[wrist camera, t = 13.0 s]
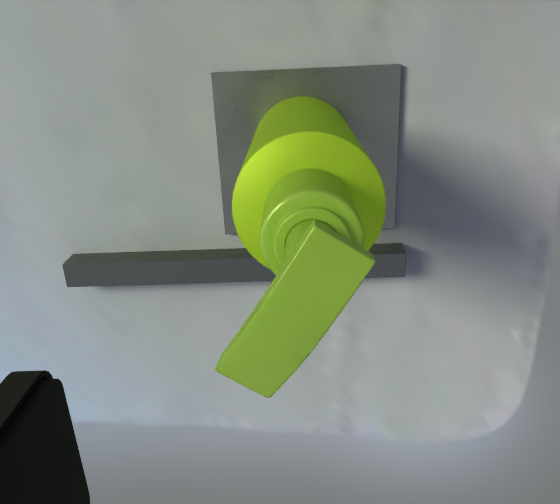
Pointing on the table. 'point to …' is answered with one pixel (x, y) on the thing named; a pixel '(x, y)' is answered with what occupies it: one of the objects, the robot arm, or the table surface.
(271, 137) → the soap dispenser
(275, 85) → the soundbar with subwoofer
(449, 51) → the table surface
